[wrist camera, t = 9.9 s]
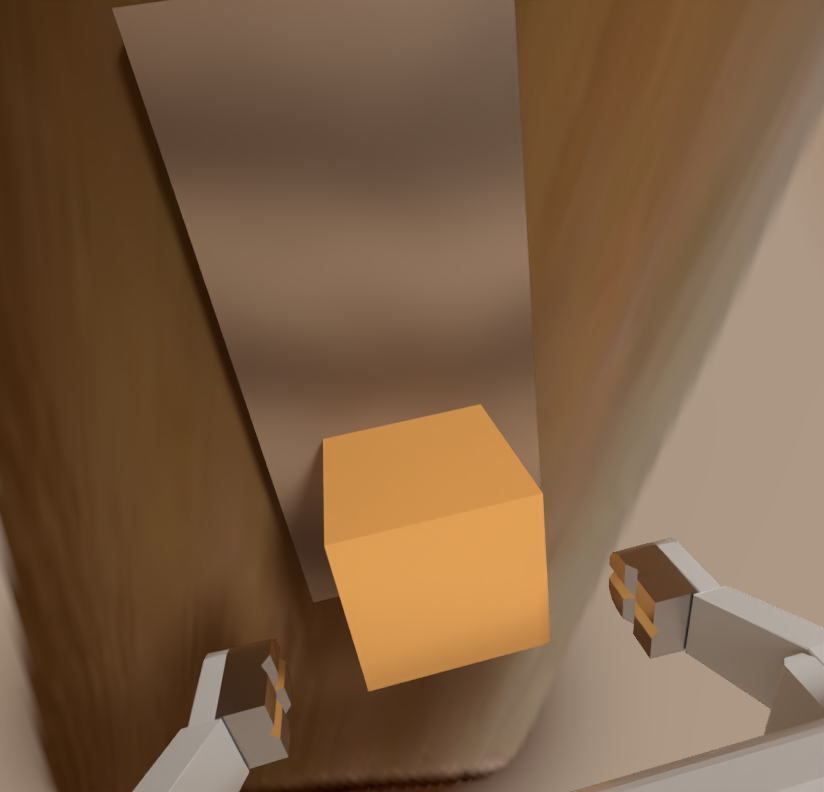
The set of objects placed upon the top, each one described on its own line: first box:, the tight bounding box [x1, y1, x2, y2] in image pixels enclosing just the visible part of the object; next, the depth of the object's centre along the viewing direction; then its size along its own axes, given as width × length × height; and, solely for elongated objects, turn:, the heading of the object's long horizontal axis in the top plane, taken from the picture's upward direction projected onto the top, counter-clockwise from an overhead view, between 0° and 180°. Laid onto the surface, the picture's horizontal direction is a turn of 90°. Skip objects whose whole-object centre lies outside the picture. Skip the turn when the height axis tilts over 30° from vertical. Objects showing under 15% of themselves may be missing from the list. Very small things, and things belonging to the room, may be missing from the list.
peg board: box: [112, 0, 541, 603], centre depth 14 cm, size 18×9×5 cm, turn 9°
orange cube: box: [323, 404, 551, 691], centre depth 15 cm, size 5×5×5 cm
